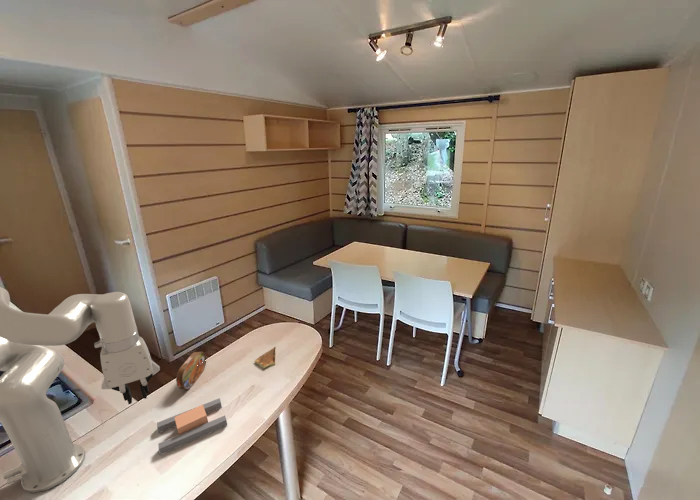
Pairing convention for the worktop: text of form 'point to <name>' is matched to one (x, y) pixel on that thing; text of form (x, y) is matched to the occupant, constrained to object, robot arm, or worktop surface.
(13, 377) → the robot arm
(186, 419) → the block
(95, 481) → the worktop surface
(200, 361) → the tin
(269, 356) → the shard
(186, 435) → the chute
